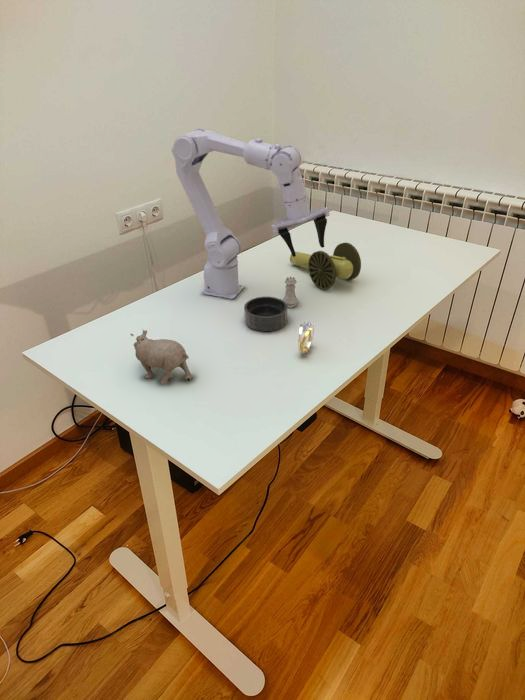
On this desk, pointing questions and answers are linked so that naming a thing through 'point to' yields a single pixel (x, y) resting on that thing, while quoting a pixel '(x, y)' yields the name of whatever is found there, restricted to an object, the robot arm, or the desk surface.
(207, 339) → the desk surface
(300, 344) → the ring
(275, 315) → the bowl
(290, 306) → the rook chess piece
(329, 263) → the cannon
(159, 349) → the brown animal figurine
